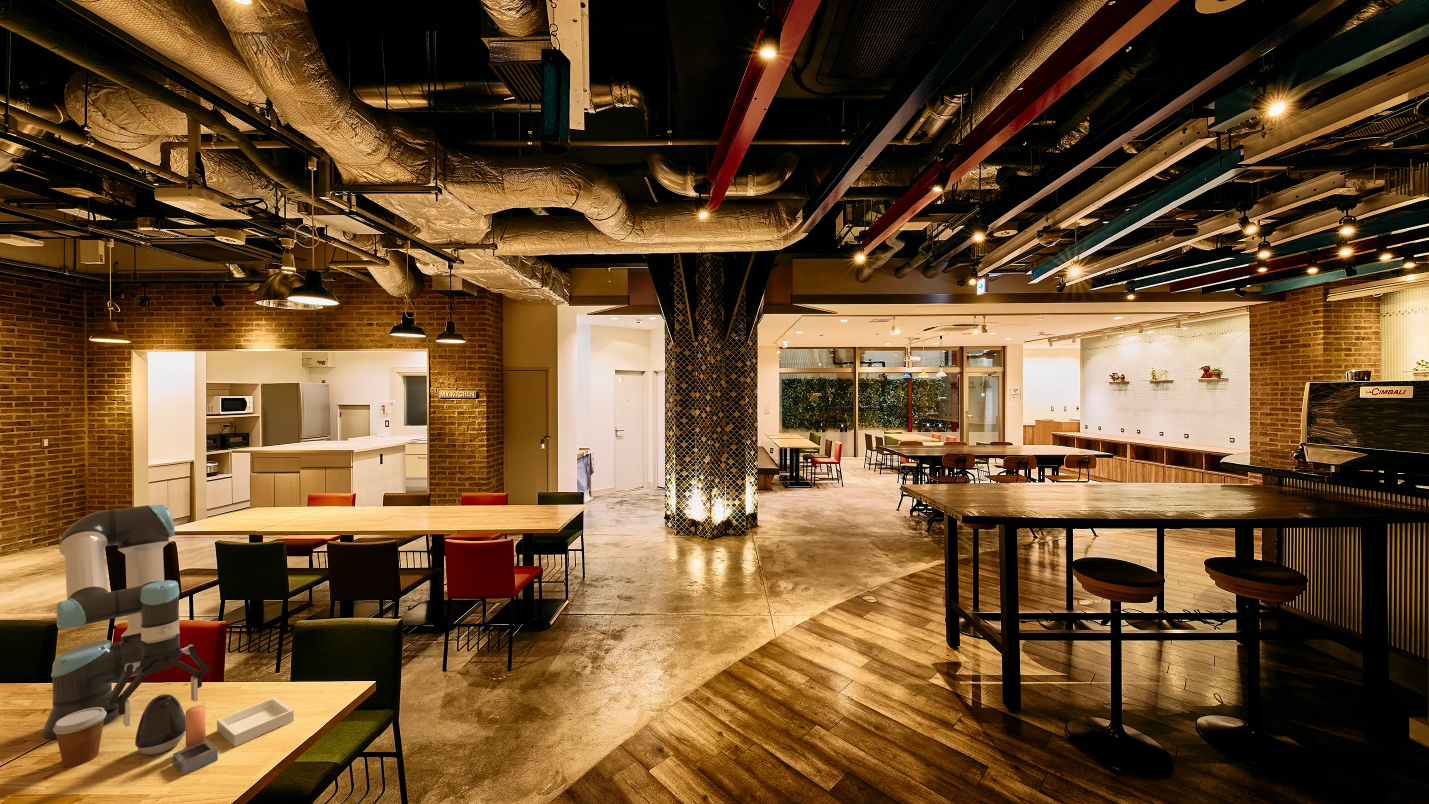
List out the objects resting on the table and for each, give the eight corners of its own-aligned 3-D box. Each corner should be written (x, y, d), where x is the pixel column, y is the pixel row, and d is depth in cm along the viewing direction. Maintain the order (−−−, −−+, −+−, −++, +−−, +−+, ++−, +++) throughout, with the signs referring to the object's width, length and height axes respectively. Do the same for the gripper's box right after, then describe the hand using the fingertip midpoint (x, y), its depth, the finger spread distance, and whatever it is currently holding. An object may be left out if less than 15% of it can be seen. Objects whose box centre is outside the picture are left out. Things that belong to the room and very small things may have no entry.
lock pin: (183, 748, 149) (183, 710, 148) (202, 741, 152) (202, 703, 152) (188, 753, 146) (188, 714, 146) (207, 745, 150) (207, 707, 150)
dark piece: (140, 765, 142) (140, 710, 142) (131, 752, 148) (130, 698, 148) (192, 744, 151) (191, 692, 151) (181, 732, 157) (180, 682, 156)
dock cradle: (217, 730, 157) (216, 719, 157) (274, 707, 169) (274, 696, 169) (234, 746, 150) (234, 735, 150) (293, 720, 162) (293, 710, 162)
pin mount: (173, 764, 143) (172, 753, 143) (207, 749, 149) (207, 739, 149) (182, 775, 139) (182, 764, 139) (217, 759, 145) (217, 749, 145)
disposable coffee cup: (69, 773, 139) (68, 729, 139) (43, 768, 141) (43, 724, 141) (116, 750, 149) (116, 708, 149) (91, 745, 151) (91, 704, 151)
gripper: (97, 659, 137) (98, 740, 137) (223, 623, 158) (224, 694, 158) (90, 652, 140) (91, 731, 140) (214, 618, 162) (215, 687, 162)
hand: (161, 711), depth 149 cm, fingers open, 13 cm apart
